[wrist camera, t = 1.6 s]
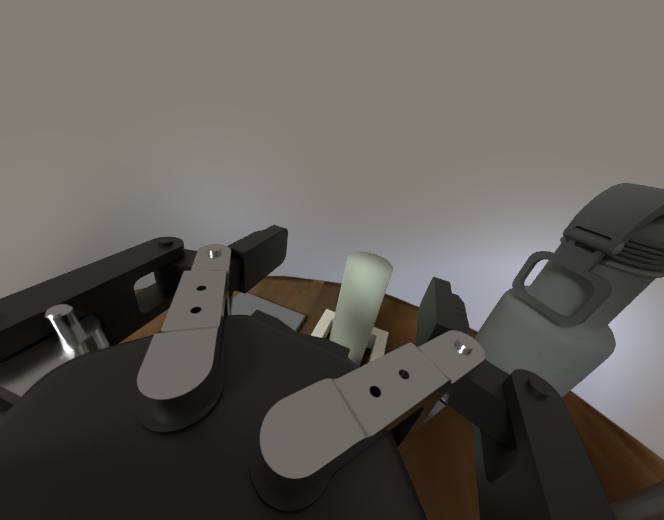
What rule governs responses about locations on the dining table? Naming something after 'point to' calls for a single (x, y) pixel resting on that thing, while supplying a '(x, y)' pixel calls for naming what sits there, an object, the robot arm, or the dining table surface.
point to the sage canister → (360, 301)
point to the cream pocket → (375, 341)
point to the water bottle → (579, 289)
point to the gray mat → (266, 309)
